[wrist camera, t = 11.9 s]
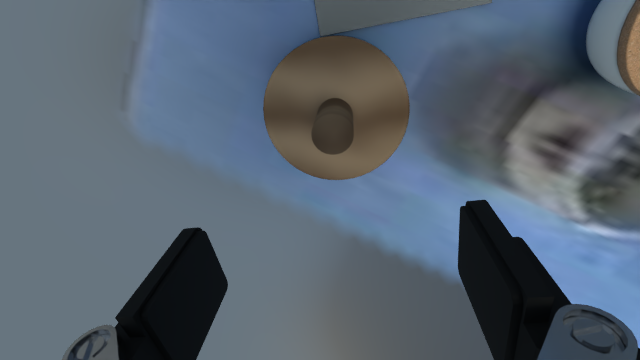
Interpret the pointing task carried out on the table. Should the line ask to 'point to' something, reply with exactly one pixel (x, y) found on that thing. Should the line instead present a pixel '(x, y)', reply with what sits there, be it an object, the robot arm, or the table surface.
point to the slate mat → (379, 12)
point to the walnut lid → (336, 107)
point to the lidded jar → (616, 43)
